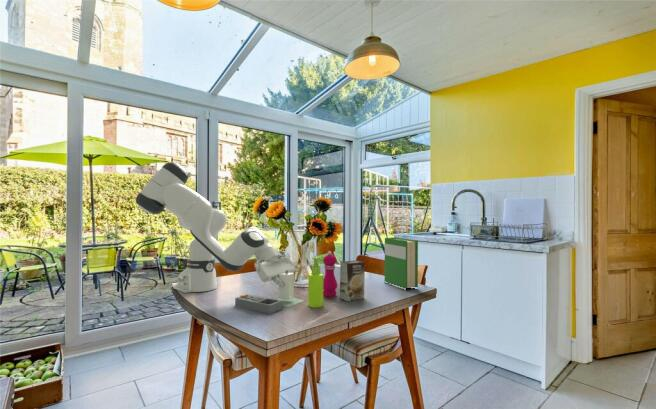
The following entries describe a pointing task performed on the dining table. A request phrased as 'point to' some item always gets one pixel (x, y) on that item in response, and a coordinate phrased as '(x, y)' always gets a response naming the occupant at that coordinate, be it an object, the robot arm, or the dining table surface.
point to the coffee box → (352, 280)
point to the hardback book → (401, 262)
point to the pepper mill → (329, 276)
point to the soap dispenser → (315, 285)
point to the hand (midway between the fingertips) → (287, 284)
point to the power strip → (258, 303)
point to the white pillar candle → (286, 285)
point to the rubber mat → (290, 301)
